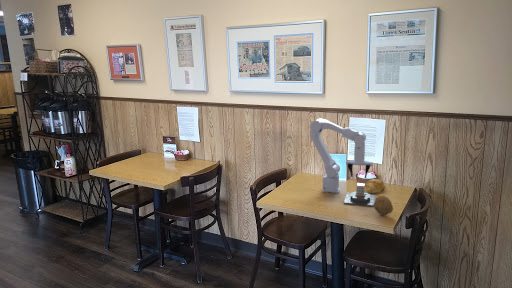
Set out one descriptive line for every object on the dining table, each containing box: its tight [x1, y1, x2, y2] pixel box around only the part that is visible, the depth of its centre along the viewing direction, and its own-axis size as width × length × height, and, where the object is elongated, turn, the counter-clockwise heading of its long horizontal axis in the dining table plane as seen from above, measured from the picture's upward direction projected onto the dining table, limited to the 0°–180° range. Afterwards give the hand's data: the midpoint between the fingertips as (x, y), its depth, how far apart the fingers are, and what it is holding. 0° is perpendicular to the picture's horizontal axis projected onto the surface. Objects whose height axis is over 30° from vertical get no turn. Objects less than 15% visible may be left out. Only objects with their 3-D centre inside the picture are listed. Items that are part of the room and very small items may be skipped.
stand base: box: [343, 191, 377, 208], centre depth 212 cm, size 16×16×4 cm
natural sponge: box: [373, 195, 394, 216], centre depth 192 cm, size 9×9×10 cm
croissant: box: [365, 178, 385, 195], centre depth 228 cm, size 21×10×8 cm, turn 142°
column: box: [356, 182, 366, 197], centre depth 211 cm, size 4×4×6 cm
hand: (358, 177), depth 220 cm, fingers open, 7 cm apart
